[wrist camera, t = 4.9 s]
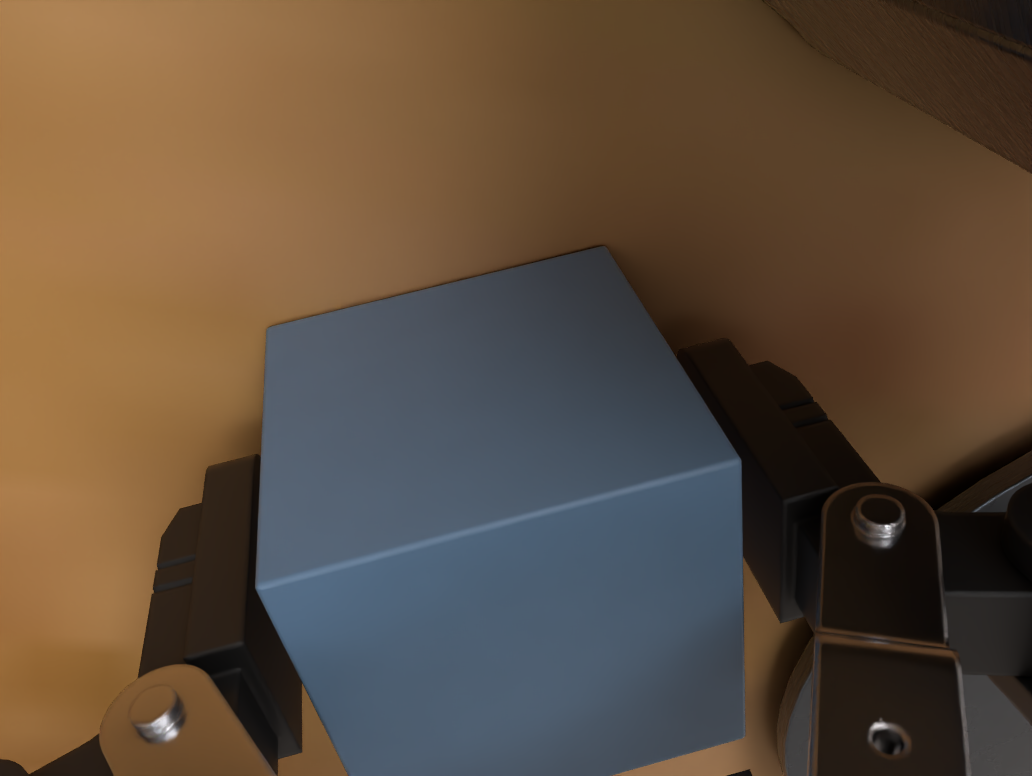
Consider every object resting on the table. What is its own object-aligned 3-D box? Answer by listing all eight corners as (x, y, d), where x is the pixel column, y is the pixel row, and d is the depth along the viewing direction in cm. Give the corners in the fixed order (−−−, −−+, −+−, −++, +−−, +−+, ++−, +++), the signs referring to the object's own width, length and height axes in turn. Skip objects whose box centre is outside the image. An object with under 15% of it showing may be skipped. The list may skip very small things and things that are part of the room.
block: (357, 565, 16) (379, 843, 12) (265, 326, 13) (253, 587, 9) (634, 493, 16) (747, 739, 12) (605, 243, 13) (744, 459, 9)
